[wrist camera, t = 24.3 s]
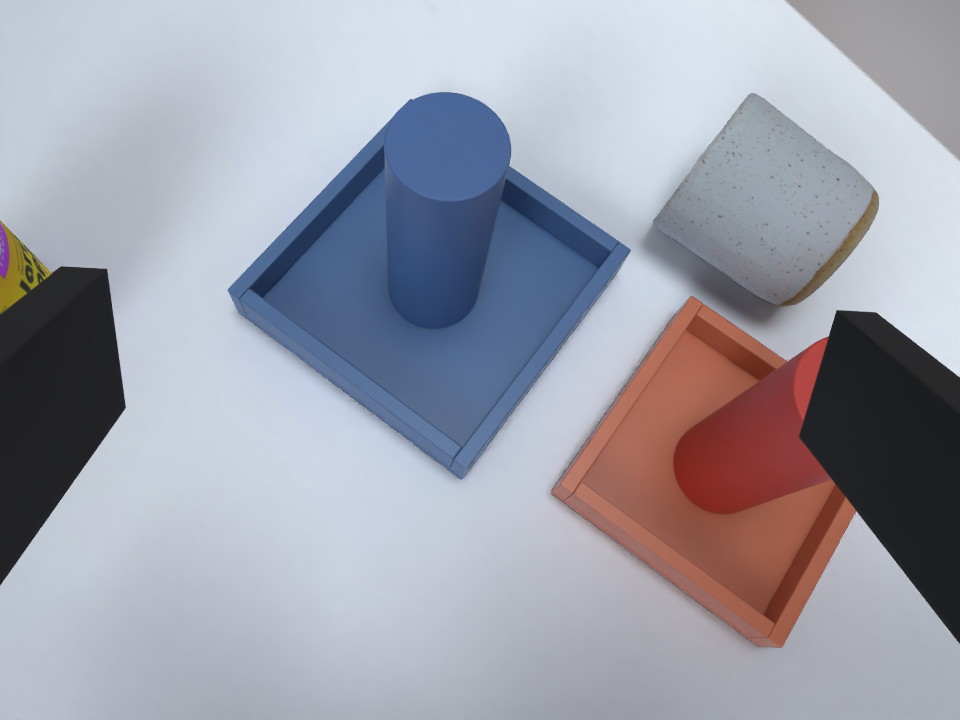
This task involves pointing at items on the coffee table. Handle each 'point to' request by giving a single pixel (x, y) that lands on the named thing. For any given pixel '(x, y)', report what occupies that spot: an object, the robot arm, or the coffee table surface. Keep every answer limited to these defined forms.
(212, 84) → the coffee table surface
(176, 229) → the coffee table surface
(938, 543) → the robot arm
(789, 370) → the red peg
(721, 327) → the orange tray
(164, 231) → the coffee table surface
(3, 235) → the supplement bottle
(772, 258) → the ceramic mug
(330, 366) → the blue tray
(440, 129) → the blue peg
